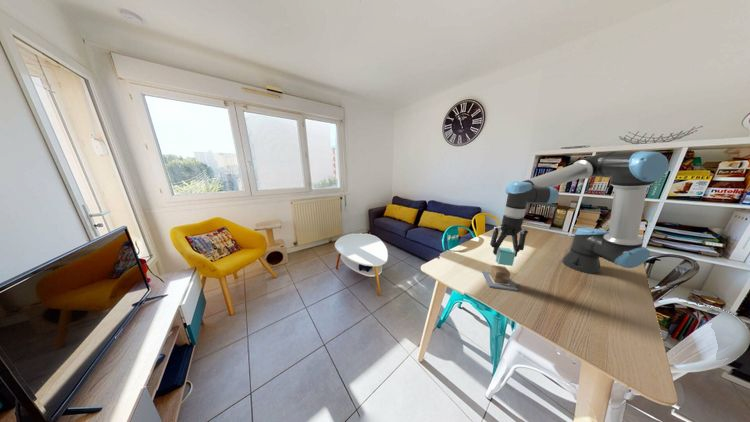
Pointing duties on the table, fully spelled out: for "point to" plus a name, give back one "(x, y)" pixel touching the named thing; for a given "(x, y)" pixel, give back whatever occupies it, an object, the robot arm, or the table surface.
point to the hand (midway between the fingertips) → (502, 260)
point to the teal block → (505, 256)
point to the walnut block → (500, 274)
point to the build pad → (499, 285)
